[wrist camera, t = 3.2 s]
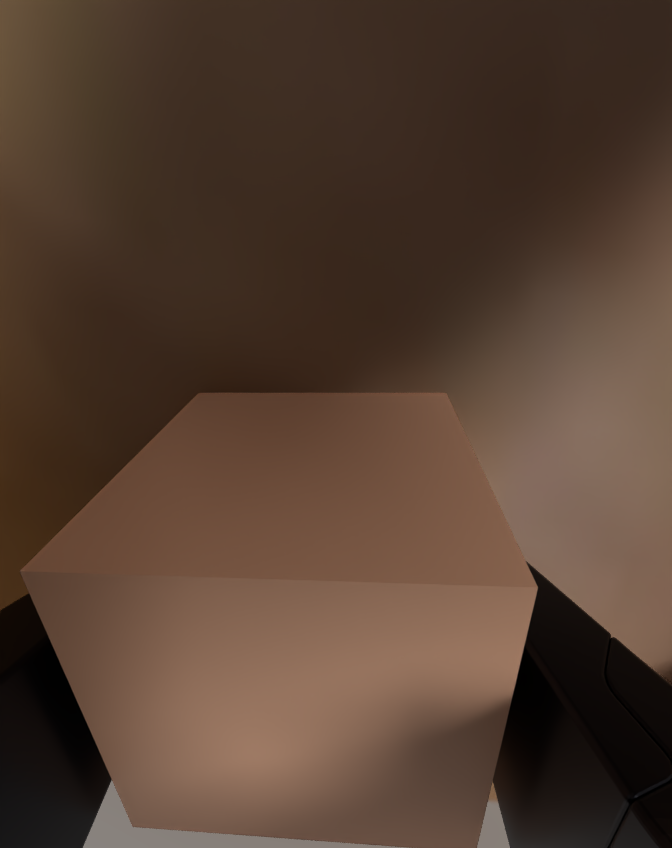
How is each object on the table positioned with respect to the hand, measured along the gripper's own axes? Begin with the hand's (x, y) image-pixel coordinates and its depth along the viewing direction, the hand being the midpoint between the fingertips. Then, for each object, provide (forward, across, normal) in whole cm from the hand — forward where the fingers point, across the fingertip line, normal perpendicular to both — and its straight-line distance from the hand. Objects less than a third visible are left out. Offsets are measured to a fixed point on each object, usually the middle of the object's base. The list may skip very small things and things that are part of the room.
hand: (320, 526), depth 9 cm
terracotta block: (+1, 0, 0) cm, 1 cm away
